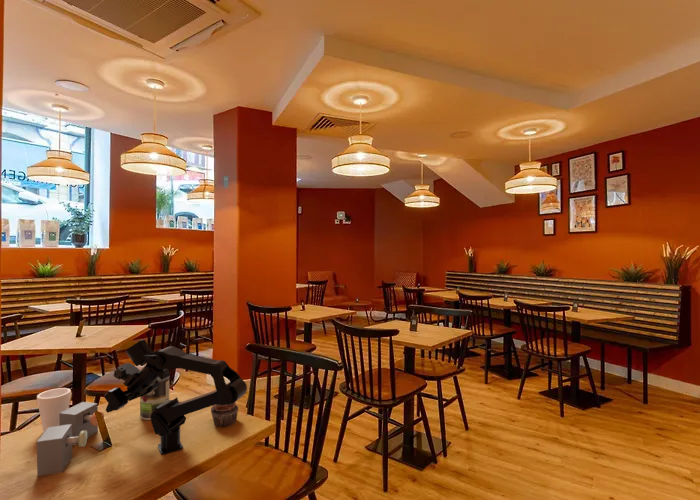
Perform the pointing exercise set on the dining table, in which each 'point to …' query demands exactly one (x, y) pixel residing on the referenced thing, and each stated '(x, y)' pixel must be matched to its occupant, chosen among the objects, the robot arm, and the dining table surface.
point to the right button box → (79, 418)
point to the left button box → (54, 450)
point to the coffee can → (154, 399)
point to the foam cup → (53, 406)
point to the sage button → (78, 439)
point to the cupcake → (224, 414)
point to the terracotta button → (92, 419)
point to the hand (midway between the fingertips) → (117, 405)
